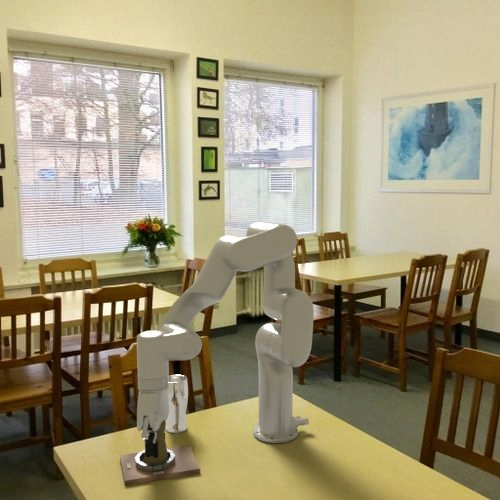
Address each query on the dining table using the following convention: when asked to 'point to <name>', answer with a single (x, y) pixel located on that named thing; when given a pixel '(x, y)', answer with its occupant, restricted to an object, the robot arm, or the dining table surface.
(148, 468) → the hub ring
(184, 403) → the beer glass
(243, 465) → the dining table surface
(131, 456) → the board
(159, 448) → the cork
